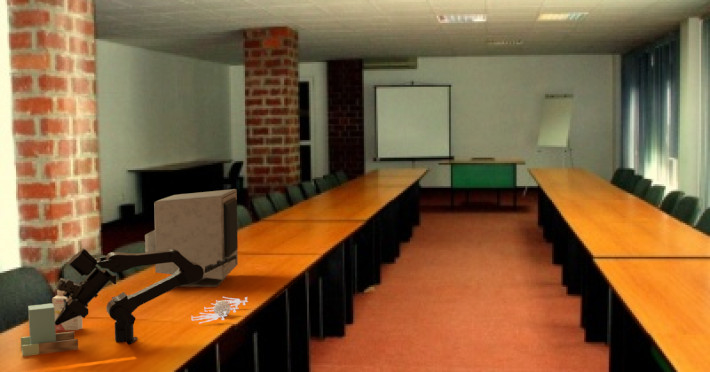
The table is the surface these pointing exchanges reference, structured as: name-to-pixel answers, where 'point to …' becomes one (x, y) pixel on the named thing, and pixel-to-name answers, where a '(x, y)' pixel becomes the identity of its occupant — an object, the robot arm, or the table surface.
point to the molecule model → (222, 306)
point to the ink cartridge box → (58, 306)
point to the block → (42, 323)
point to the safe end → (28, 347)
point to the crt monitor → (197, 232)
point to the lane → (60, 343)
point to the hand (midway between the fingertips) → (55, 324)
